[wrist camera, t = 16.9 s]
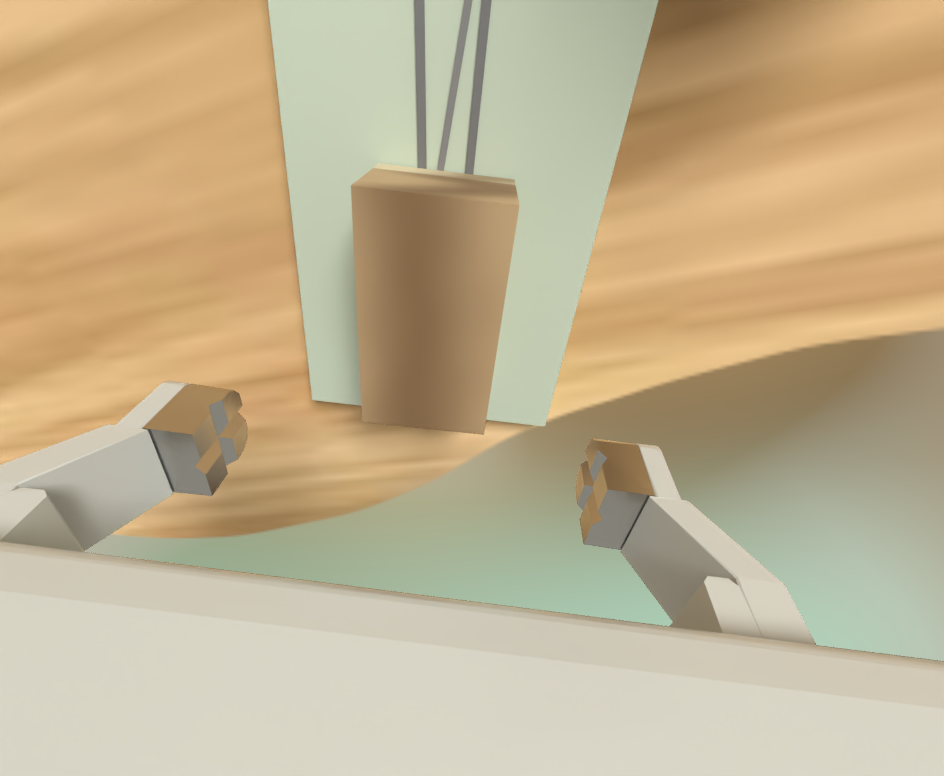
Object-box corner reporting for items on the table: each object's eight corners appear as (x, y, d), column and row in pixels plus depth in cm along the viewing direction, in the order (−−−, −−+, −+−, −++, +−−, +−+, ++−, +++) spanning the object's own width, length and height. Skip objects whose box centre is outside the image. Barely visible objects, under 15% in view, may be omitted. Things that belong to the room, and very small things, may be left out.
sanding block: (514, 179, 17) (519, 205, 13) (485, 380, 22) (483, 434, 19) (379, 163, 17) (350, 185, 13) (381, 369, 22) (361, 421, 18)
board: (746, -380, 11) (774, -430, 10) (542, 412, 24) (544, 427, 23) (236, -468, 10) (206, -530, 9) (319, 386, 24) (311, 401, 23)
